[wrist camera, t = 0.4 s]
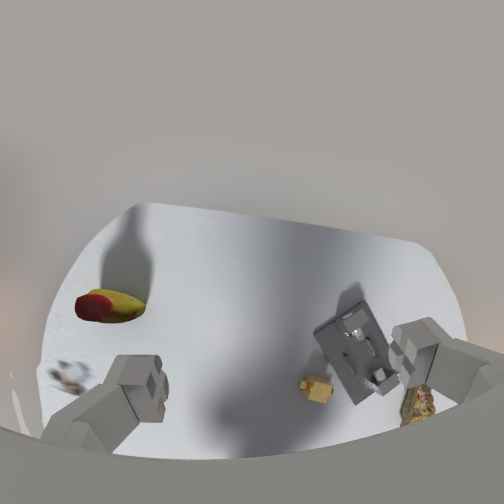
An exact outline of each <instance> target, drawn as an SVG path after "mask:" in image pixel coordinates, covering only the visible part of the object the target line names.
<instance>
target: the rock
mask: <svg viewBox="0 0 504 504" xmlns="http://www.w3.org/2000/svg"><path fill="white" fill-rule="evenodd" d="M433 401H434V400H433V396H432V395H431V393H430V392H429V389H428V386H427V385H424V384H422V385H419V386H416V387H412V388H409V389H408V393H407V396H406V399H405V401H404V403H403V407H402V422H401V424H400V427H402V426H405V425H408V424H411V423H414V422H417V421H419V420H422V419H425V418H427V417H430V416H433V415H435V407H434V405H433Z"/></svg>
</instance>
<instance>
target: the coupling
mask: <svg viewBox="0 0 504 504" xmlns="http://www.w3.org/2000/svg"><path fill="white" fill-rule="evenodd" d="M332 387H333V386H332V385H331V384H330V383H329V382H328V381H327V380H326V379H323V378H319V377H315V376H312V375H308V377H307V379H306V381H303V380H301V381H300V383H299V388H300V389H302V392H303V394H304V395H305V397H306V398H307V399H308V400H312V401H316V402H320V403H325V404H326V401H327V399H328V397H329V396H331V395H332V393H333V388H332Z"/></svg>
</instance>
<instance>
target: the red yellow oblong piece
mask: <svg viewBox="0 0 504 504" xmlns="http://www.w3.org/2000/svg"><path fill="white" fill-rule="evenodd" d="M145 308H146V306H145V304H144V303H143V302H142V301H140V300H139V299H137V298H134V297H132V296H130V295H128V294H125V293H121V292H117V291H112V290H106V289H94V290H92V291H90V292H89V293H88V294H87V295H83V296H81V297H78V298H77V300H76V303H75V312H76V314H77V316H78V317H79V318H81V319H83V320H86V321H93V322H96V321H97V322H100V323H123V322H127V321H131V320H133V319H136V318H138V317H139V316H141V315H142V314H143V313H144V311H145Z"/></svg>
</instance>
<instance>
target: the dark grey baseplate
mask: <svg viewBox="0 0 504 504" xmlns="http://www.w3.org/2000/svg"><path fill="white" fill-rule="evenodd" d="M314 336H315V338H316V340H317V341H318V343H319V345H320V346H321V348H322V350H323V352H324V353H325V355H326V357H327V358H328V360H329V362H330V364H331V365H332V367H333V369H334V371H335V372H336V374H337V376H338V377H339V379H340V381H341V383H342V384H343V386H344V388H345V390H346V391H347V393H348V395H349V397H350V398H351V400H352V402H353V404H354V405H355V406H356V405H357V404H358V403H360V402H361V401H363V400H364V399H366V398H367V397H368V396H370V395H371V394H372V393H374V392H377V393H378V394H380V395H381V396H384V395H385V394H387V393H388V392H389V391H391V390H392V389H393V388H394V387H396V386H397V385H398V384H399V383H400V381H399V378H398V376H397V374H398V373H400V372H398V371H395V370H394V369H393V368H392V366H391V364H390V361H389V355H388V352H389V348H388V346H387V344H386V342H385V340H384V338H383V336H382V334H381V332H380V330H379V328H378V326H377V324H376V322H375V320H374V319H373V317H372V315H371V313H370V311H369V309H368V307H367V305H366V303H365V302H364V301H362V302H360V303H359V304H357V305H356V306H355V307H353V308H352V309H350V310H349V311H347V312H346V313H345V314H343V315H342V316H340V317H339V318H337V319H336V320H334V321H333V322H331V323H330V324H328V325H327V326H325V327H324V328H322V329H321V330H319V331H318V332H316V333H314Z"/></svg>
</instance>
